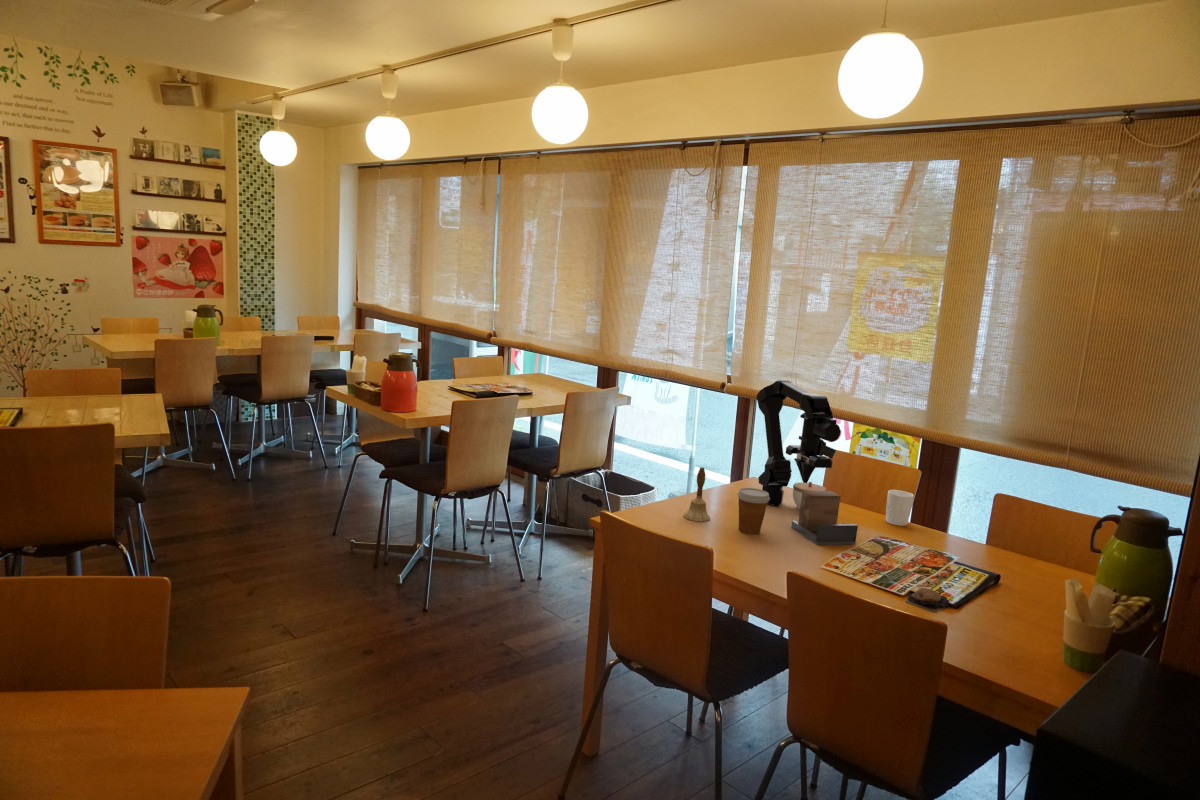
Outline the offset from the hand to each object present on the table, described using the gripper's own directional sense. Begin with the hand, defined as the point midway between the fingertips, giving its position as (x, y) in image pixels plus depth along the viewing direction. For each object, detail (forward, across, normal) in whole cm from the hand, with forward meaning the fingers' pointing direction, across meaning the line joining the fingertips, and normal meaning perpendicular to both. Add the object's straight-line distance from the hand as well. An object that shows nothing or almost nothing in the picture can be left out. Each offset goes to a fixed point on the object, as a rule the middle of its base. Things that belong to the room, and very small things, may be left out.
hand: (805, 482), depth 242 cm
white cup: (+12, -4, -33) cm, 35 cm away
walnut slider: (+11, -12, +2) cm, 16 cm away
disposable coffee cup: (+12, -10, +23) cm, 28 cm away
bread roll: (+13, -62, +1) cm, 63 cm away
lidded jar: (+12, +10, -8) cm, 18 cm away
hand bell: (+12, +2, +35) cm, 37 cm away
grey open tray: (+12, -16, +2) cm, 20 cm away
